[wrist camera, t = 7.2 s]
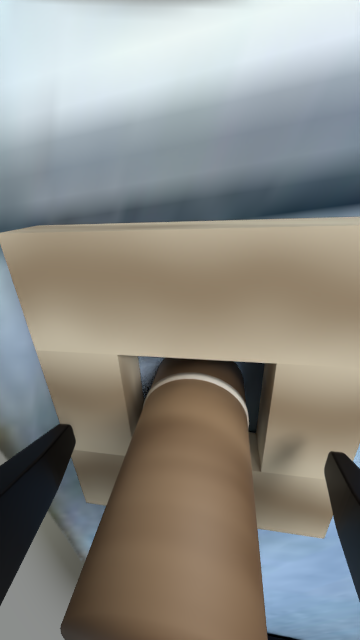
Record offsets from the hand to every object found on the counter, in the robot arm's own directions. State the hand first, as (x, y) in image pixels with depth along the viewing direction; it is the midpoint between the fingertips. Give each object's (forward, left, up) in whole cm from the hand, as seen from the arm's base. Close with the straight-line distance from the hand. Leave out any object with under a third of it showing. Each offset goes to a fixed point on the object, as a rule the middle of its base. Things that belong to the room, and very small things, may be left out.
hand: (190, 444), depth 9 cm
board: (0, 0, -3) cm, 3 cm away
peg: (0, 0, -3) cm, 3 cm away
